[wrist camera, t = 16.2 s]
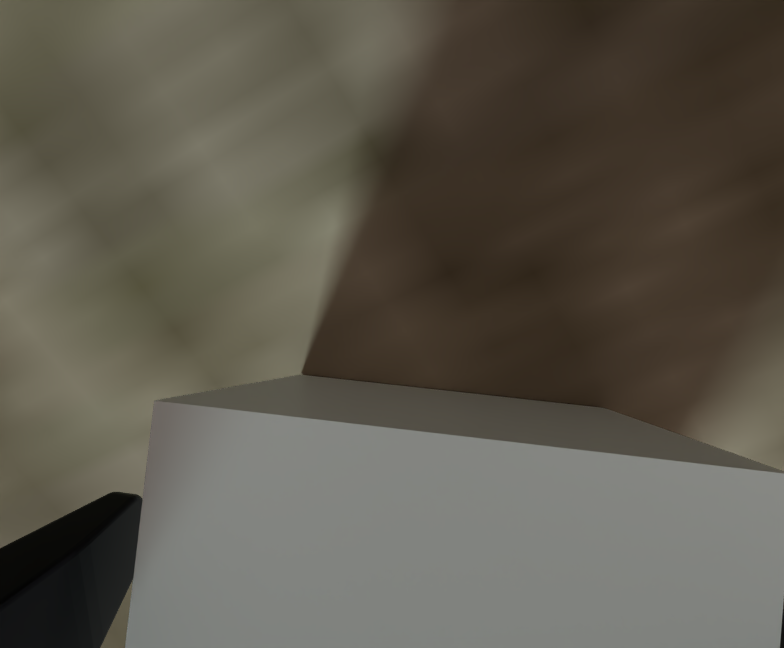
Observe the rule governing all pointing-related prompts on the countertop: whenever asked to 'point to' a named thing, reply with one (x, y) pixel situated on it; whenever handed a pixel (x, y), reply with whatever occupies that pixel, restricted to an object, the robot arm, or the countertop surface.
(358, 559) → the matte white cube
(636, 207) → the countertop surface
